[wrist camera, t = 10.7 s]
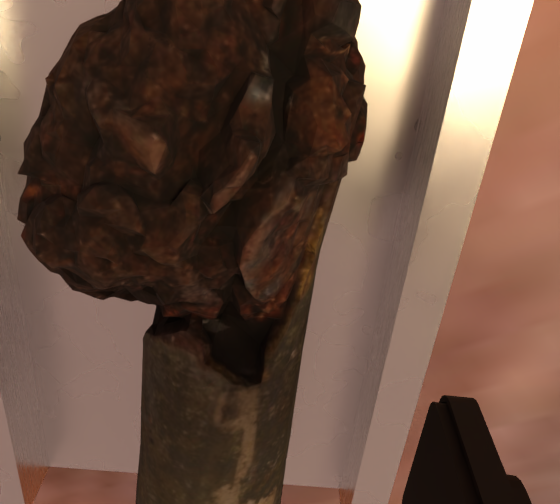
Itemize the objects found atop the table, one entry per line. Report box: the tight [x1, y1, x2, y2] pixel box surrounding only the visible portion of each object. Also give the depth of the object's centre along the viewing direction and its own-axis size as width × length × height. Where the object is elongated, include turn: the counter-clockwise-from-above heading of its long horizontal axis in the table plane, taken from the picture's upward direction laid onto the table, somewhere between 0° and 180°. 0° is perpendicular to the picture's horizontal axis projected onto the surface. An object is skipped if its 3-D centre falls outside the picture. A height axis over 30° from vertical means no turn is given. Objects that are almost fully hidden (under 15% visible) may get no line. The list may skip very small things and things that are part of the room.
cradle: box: [0, 0, 534, 504], centre depth 15 cm, size 20×13×3 cm
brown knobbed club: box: [17, 0, 368, 504], centre depth 13 cm, size 18×7×6 cm, turn 172°
